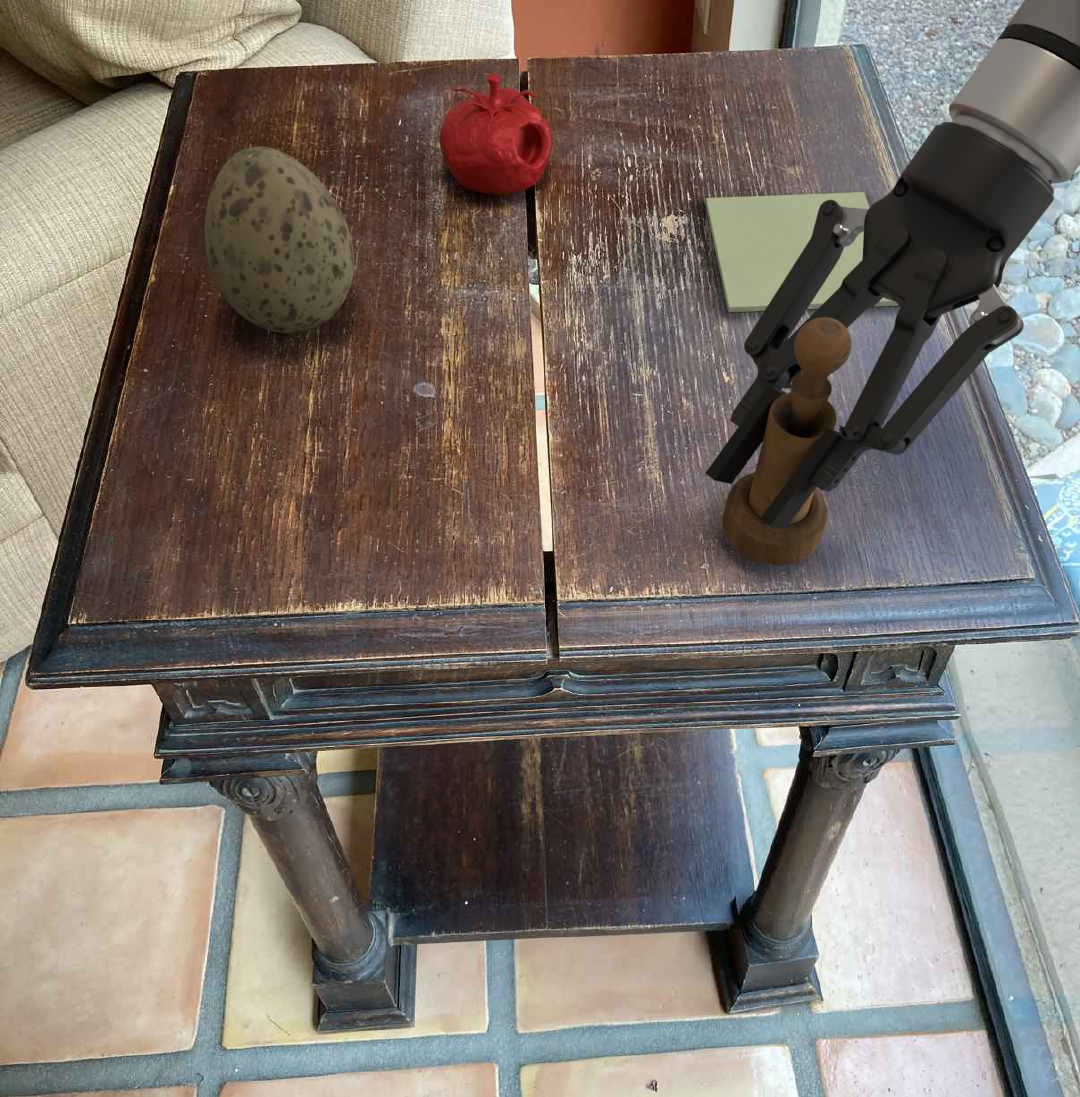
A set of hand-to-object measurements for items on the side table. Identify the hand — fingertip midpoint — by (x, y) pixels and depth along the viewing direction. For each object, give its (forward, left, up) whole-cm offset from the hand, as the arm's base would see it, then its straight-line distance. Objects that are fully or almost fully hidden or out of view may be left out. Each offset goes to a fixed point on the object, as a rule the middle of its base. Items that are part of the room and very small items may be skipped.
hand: (746, 499), depth 64 cm
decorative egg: (+40, +7, -8) cm, 41 cm away
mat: (+17, -28, -8) cm, 34 cm away
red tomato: (+43, -17, -8) cm, 47 cm away
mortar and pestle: (0, -4, -6) cm, 7 cm away
